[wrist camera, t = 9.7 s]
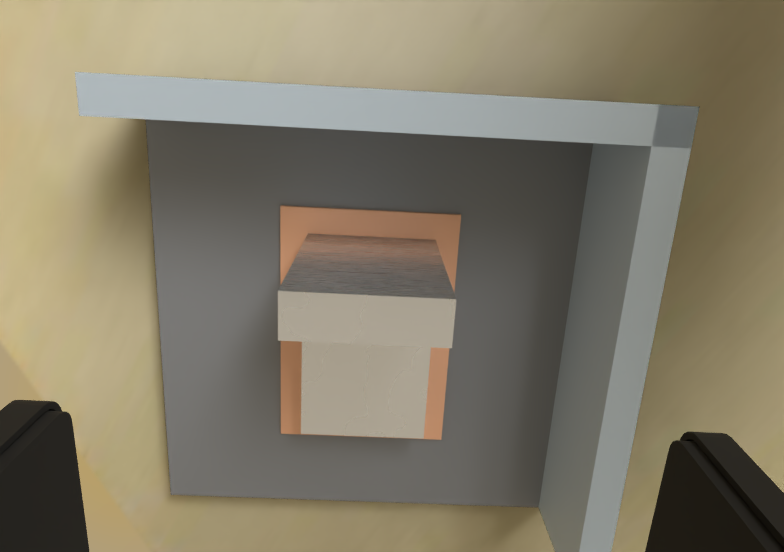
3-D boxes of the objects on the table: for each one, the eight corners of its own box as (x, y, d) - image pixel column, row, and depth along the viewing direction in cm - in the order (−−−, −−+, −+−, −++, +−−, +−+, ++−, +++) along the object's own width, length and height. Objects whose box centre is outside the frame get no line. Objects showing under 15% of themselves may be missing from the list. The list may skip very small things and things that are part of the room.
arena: (621, 102, 23) (699, 107, 17) (558, 494, 28) (602, 595, 23) (152, 76, 23) (75, 71, 17) (178, 480, 28) (125, 581, 22)
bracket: (308, 233, 23) (277, 291, 17) (435, 239, 23) (456, 299, 17) (305, 414, 26) (278, 528, 19) (421, 419, 26) (434, 534, 19)
